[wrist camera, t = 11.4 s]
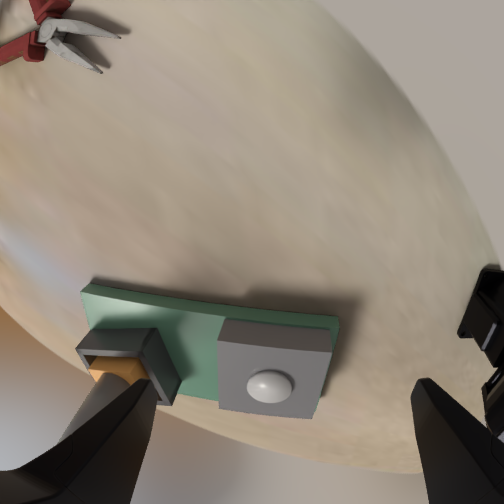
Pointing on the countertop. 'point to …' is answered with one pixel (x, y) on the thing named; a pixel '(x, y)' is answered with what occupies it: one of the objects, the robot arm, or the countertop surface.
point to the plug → (106, 386)
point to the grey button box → (271, 368)
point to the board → (188, 328)
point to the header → (135, 355)
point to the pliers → (52, 36)
